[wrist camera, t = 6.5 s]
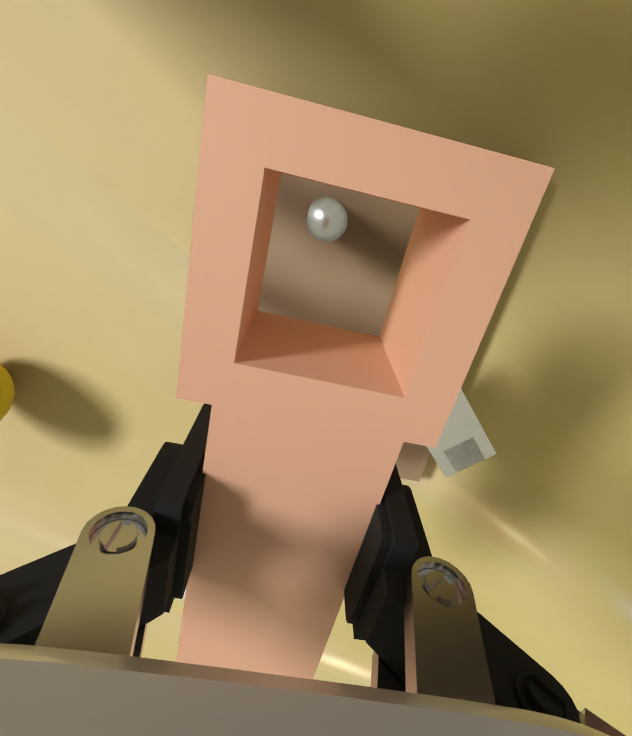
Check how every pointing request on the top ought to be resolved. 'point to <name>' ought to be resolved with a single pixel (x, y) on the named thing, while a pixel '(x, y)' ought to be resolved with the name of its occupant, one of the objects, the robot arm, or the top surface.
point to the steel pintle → (326, 219)
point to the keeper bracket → (461, 440)
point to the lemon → (5, 391)
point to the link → (322, 360)
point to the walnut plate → (339, 269)
